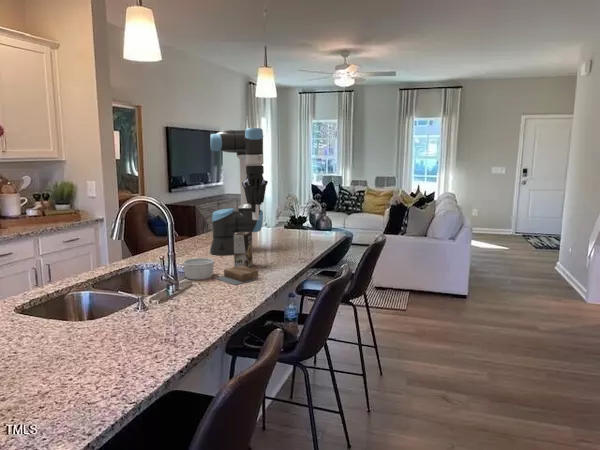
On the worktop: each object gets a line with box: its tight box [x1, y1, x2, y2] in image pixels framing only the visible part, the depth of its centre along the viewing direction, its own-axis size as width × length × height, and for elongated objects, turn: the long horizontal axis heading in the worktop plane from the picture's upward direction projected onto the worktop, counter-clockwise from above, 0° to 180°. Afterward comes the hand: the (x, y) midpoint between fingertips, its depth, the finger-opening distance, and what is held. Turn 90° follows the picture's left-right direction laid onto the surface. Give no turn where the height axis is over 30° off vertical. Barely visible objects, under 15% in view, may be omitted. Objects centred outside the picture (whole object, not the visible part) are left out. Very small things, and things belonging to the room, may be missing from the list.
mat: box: [214, 275, 259, 286], centre depth 190 cm, size 12×14×1 cm
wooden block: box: [223, 266, 259, 282], centre depth 192 cm, size 3×12×9 cm
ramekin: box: [182, 257, 215, 281], centre depth 194 cm, size 13×13×7 cm
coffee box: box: [233, 232, 254, 268], centre depth 210 cm, size 9×6×16 cm
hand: (255, 219), depth 195 cm, fingers closed
